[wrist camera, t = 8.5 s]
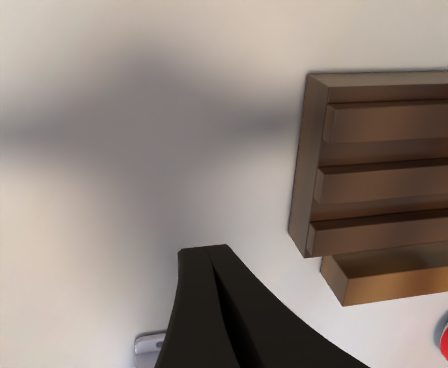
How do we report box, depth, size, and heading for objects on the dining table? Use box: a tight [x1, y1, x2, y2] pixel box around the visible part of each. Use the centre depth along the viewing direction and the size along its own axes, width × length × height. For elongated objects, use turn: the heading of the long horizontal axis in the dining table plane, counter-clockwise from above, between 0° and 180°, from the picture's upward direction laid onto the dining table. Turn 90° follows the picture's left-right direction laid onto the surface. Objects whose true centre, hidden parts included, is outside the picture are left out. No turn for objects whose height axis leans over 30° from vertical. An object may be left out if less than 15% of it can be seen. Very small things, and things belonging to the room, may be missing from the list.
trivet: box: [288, 71, 448, 258], centre depth 21 cm, size 9×9×3 cm
